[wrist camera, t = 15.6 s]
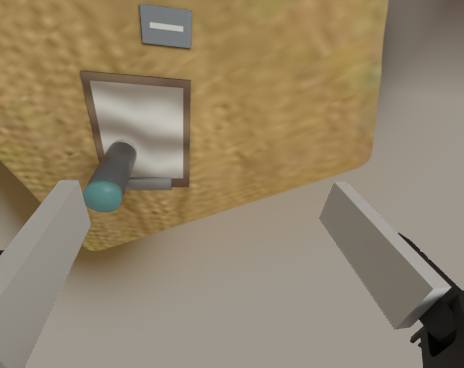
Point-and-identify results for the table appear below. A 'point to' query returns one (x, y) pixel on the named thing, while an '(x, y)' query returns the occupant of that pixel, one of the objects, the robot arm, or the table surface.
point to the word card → (166, 26)
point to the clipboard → (143, 124)
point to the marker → (111, 177)
